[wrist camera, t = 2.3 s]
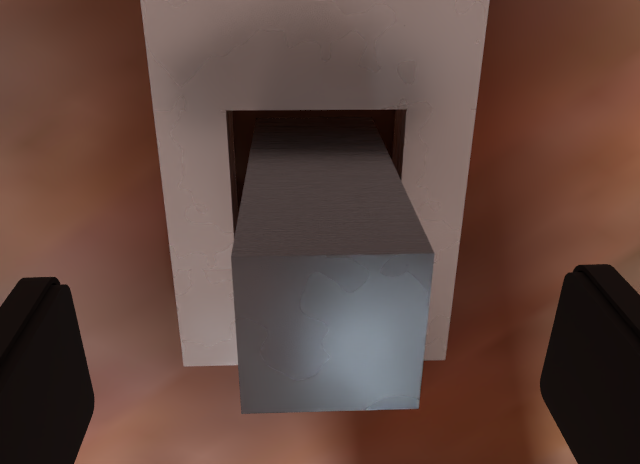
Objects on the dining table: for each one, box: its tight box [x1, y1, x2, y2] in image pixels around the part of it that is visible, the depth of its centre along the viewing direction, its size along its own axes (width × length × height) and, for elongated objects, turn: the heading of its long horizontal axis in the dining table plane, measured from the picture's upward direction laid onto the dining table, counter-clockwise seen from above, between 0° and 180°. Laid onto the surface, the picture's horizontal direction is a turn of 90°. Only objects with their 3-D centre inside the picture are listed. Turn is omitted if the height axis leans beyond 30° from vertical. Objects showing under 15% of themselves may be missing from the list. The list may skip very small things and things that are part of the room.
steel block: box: [231, 117, 435, 414], centre depth 17 cm, size 4×4×10 cm
